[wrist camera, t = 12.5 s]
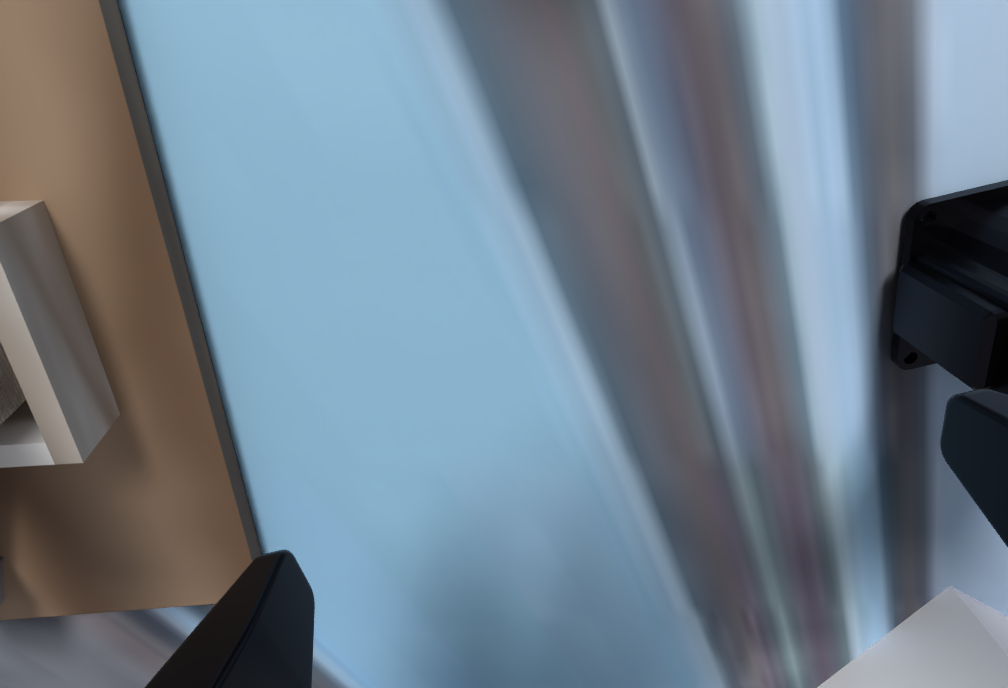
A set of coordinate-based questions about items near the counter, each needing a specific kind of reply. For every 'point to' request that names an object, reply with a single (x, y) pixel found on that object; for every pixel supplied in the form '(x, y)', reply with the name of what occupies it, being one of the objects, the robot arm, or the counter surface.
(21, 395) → the block
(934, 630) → the milk
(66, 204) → the shaft board
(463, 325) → the counter surface
